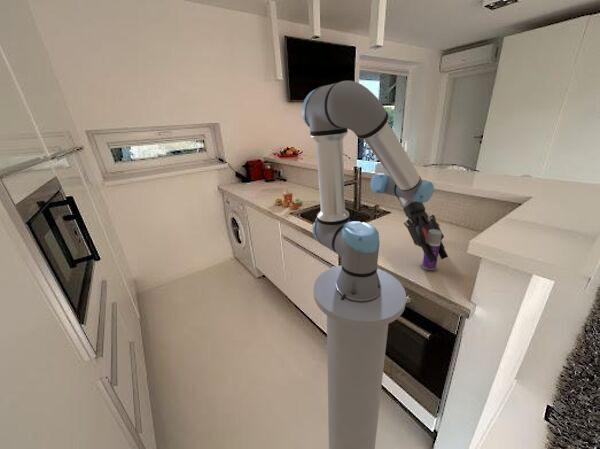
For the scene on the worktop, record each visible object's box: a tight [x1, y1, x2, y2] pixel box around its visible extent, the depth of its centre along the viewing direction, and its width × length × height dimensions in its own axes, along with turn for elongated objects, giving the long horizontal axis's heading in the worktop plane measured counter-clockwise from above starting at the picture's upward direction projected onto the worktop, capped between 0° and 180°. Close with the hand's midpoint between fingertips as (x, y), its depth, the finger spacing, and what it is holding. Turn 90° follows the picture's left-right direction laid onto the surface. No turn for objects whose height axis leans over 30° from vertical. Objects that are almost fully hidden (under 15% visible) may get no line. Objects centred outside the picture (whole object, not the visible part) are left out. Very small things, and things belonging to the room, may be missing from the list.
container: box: [421, 229, 443, 271], centre depth 92 cm, size 5×5×15 cm
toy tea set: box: [273, 189, 303, 211], centre depth 179 cm, size 26×16×10 cm, turn 43°
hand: (439, 259), depth 90 cm, fingers closed on container, 5 cm apart
